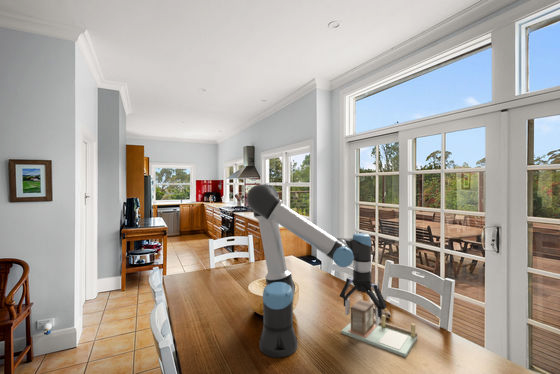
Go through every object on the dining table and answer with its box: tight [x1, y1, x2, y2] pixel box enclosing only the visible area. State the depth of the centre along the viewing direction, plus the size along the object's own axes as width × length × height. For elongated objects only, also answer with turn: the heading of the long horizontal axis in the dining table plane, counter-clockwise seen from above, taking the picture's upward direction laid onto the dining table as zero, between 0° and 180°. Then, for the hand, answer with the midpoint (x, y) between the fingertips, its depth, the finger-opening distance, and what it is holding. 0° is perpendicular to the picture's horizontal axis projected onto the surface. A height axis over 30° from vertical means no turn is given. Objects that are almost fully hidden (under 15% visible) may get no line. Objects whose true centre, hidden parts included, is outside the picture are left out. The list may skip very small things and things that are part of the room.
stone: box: [374, 304, 392, 319], centre depth 135 cm, size 5×14×4 cm, turn 5°
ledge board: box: [341, 315, 418, 358], centre depth 115 cm, size 26×16×6 cm, turn 50°
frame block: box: [350, 299, 375, 336], centre depth 119 cm, size 10×6×10 cm, turn 140°
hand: (362, 318), depth 119 cm, fingers open, 13 cm apart
